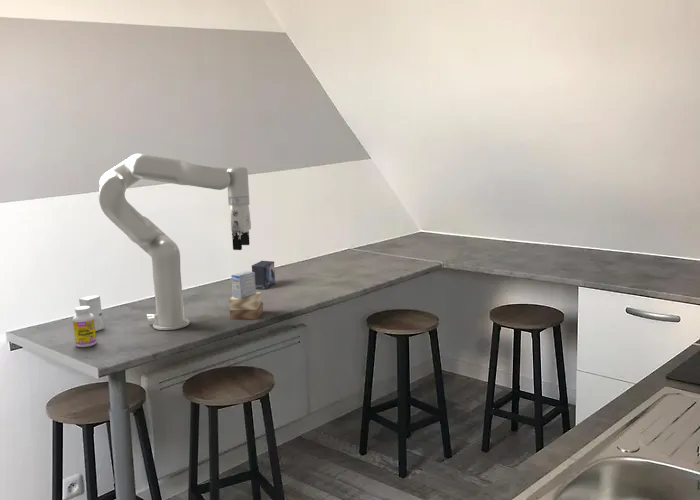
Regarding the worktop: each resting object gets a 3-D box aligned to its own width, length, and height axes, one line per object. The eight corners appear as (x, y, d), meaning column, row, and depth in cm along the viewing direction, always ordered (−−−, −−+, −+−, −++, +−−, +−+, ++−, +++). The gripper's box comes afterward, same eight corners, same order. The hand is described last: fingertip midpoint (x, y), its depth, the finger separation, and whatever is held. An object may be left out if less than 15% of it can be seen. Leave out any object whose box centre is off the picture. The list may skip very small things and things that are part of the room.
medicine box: (248, 292, 269) (246, 270, 267) (256, 294, 266) (254, 271, 265) (232, 297, 263) (230, 274, 261) (241, 299, 260) (239, 276, 259)
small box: (265, 289, 304) (264, 265, 302) (252, 289, 306) (250, 265, 304) (276, 284, 314) (274, 260, 312) (262, 283, 316) (261, 260, 314)
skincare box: (90, 333, 251) (87, 300, 249) (81, 331, 253) (78, 298, 251) (104, 328, 256) (100, 295, 254) (95, 327, 258) (91, 294, 256)
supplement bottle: (76, 349, 234) (72, 311, 231) (74, 343, 240) (70, 306, 237) (98, 345, 237) (93, 308, 234) (95, 340, 243) (91, 303, 240)
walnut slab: (230, 320, 262) (229, 310, 261) (237, 312, 272) (237, 302, 271) (257, 320, 261) (256, 309, 260) (263, 312, 271) (262, 302, 270)
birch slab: (229, 310, 261) (229, 299, 260) (235, 302, 271) (235, 292, 270) (256, 309, 260) (256, 298, 260) (261, 302, 270) (261, 292, 269)
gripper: (242, 203, 249) (244, 251, 253) (255, 198, 266) (257, 243, 269) (221, 204, 251) (224, 251, 254) (236, 198, 267) (238, 243, 271)
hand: (241, 247), depth 262 cm, fingers open, 9 cm apart
